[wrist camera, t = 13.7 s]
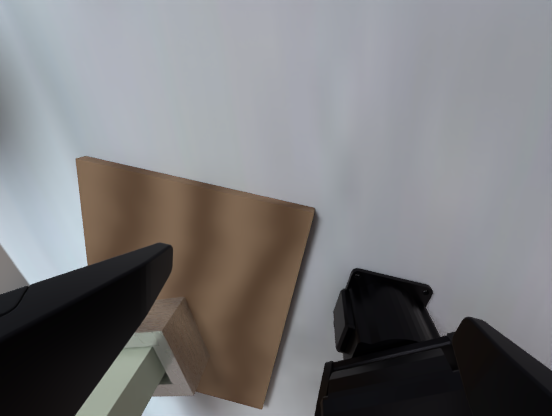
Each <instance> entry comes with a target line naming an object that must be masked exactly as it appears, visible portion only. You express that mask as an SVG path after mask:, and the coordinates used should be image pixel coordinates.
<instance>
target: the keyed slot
mask: <svg viewBox="0 0 552 416" xmlns="http://www.w3.org/2000/svg"><path fill="white" fill-rule="evenodd" d="M148 346H153V348H154V350H155V352H156V354H157V356H158V357H159V359H160V361H161V363H162V365H163V367H164V369H165V371H166V372H165V373H164V375H163V377H162V379H161V381H160V382H159V384H158V386H157V388H156V390H155V391H154V393H153V395H152V396H194V394H195V391H196V389H197V386H198V384H199V382H200V379H201V377H202V374H203V372H204V370H205V367H206V365H207V362H208V360H209V358H210V355H209V352H208V350H207V348H206V346H205V343H204V341H203V339H202V336H201V334H200V332H199V329H198V327H197V325H196V322H195V320H194V318H193V315H192V313H191V311H190V309H189V306H188V304H187V302H186V299H185V297H178V298H169V299H160V300H156V301H155V302H154V304H153V306H152V308H151V309H150V311H149V313H148V314H147V316H146V317H145V319H144V320H143V322H142V323H141V325H140V326H139V328H138V329H137V330H136V332H135V333H134V334H133V336H132V337H131V339H130V340H129V341H128V343H127V344H126V346H125V347H124V348H132V347H148Z"/></svg>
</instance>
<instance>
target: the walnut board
mask: <svg viewBox="0 0 552 416" xmlns="http://www.w3.org/2000/svg"><path fill="white" fill-rule="evenodd" d="M76 166H77V175H78V184H79V193H80V201H81V210H82V219H83V228H84V237H85V246H86V255H87V263H88V266H89V265H92V264H95V263H98V262H101V261H104V260H107V259H110V258H113V257H116V256H119V255H122V254H125V253H128V252H131V251H134V250H137V249H140V248H143V247H146V246H149V245H152V244H156V243H159V242H161V243H165V244H170V245H172V247H173V268H172V272H171V274H170V276H169V278H168V279H167V281H166V283H165V285H164V286H163V288H162V290H161V292H160V294H159V295H158V297H157V299H156V300H160V299H169V298H178V297H185V299H186V302H187V304H188V306H189V309H190V311H191V313H192V315H193V318H194V320H195V322H196V325H197V327H198V329H199V332H200V334H201V336H202V339H203V341H204V343H205V346H206V348H207V350H208V352H209V355H210V358H209V360H208V362H207V365H206V367H205V370H204V372H203V374H202V377H201V379H200V382H199V384H198V386H197V389H196V392H200V393H203V394H207V395H211V396H214V397H218V398H222V399H225V400H229V401H232V402H236V403H240V404H243V405H247V406H251V407H254V408H258V409H262V408H263V404H264V401H265V397H266V393H267V389H268V386H269V382H270V378H271V374H272V370H273V367H274V363H275V359H276V355H277V352H278V348H279V344H280V340H281V337H282V333H283V329H284V325H285V321H286V318H287V314H288V310H289V306H290V303H291V299H292V295H293V291H294V288H295V284H296V280H297V276H298V273H299V269H300V265H301V261H302V257H303V254H304V250H305V246H306V242H307V239H308V235H309V231H310V227H311V224H312V220H313V216H314V208H313V207H308V206H304V205H299V204H295V203H291V202H286V201H282V200H277V199H273V198H269V197H264V196H260V195H255V194H251V193H247V192H242V191H238V190H233V189H229V188H225V187H220V186H216V185H211V184H207V183H202V182H198V181H194V180H189V179H185V178H180V177H176V176H172V175H167V174H163V173H158V172H154V171H150V170H145V169H141V168H136V167H132V166H128V165H123V164H119V163H114V162H110V161H105V160H101V159H97V158H92V157H88V156H84V157H80V158H76Z"/></svg>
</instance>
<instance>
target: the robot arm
mask: <svg viewBox="0 0 552 416" xmlns="http://www.w3.org/2000/svg"><path fill="white" fill-rule="evenodd" d="M172 268H173V247H172V245H170V244H165V243H161V242H159V243H156V244H152V245H149V246H146V247H143V248H140V249H137V250H134V251H131V252H128V253H125V254H122V255H119V256H116V257H113V258H110V259H107V260H104V261H101V262H98V263H95V264H92V265H89V266H86V267H83V268H80V269H77V270H73V271H70V272H67V273H64V274H61V275H58V276H55V277H52V278H49V279H46V280H43V281H40V282H37V283H34V284H31V285H30V286H29V287H28V286H25V287H22V288H19V289H16V290H13V291H10V292H7V293H3V294H0V416H75V415H76V414H77V412H78V411H79V410H80V408H81V407H82V405H83V404H84V403H85V401H86V400H87V399H88V397H89V396H90V394H91V393H92V392H93V390H94V389H95V387H96V386H97V385H98V383H99V382H100V380H101V379H102V378H103V376H104V375H105V373H106V372H107V371H108V369H109V368H110V366H111V365H112V364H113V362H114V361H115V360H116V358H117V357H118V355H119V354H120V353H121V351H122V350H123V348H124V347H125V346H126V344H127V343H128V341H129V340H130V339H131V337H132V336H133V334H134V333H135V332H136V330H137V329H138V328H139V326H140V325H141V323H142V322H143V320H144V319H145V317H146V316H147V314H148V313H149V311H150V309H151V308H152V306H153V304H154V302H155V301H156V299H157V297H158V295H159V294H160V292H161V290H162V288H163V286H164V285H165V283H166V281H167V279H168V278H169V276H170V274H171V272H172ZM356 274H360V275H359V276H356ZM424 290H427V291H426V292H423V291H424ZM432 294H433V291H432V289H431V287H430V286H429V285H426V284H422V283H418V282H414V281H410V280H405V279H401V278H397V277H393V276H389V275H384V274H380V273H376V272H372V271H368V270H363V269H359V268H356V269H353V270H352V272H351V274H350V277H349V280H348V283H347V285H346V288H345V289H342V290H341V291H340V294H339V297H338V300H337V303H336V306H335V308H334V312H333V313H334V328H335V343H336V349H337V351H338V352H341V353H343V358H344V360H341V361H337V362H333V361H330V362H326V363H325V366H324V371H323V376H322V381H321V385H320V390H319V395H318V400H317V404H316V411H315V416H552V371H551V370H550V369H549V368H547V367H546V366H545V365H543V364H542V363H541V362H539V361H538V360H536V359H535V358H534V357H532V356H531V355H530V354H528V353H527V352H526V351H524V350H523V349H521V348H520V347H519V346H517V345H516V344H515V343H513V342H512V341H511V340H509V339H508V338H506V337H505V336H504V335H502V334H501V333H500V332H498V331H497V330H496V329H494V328H493V327H491V326H490V325H489V324H487V323H486V322H485V321H483V320H481V319H477V318H472V317H465V318H464V319H463V320H462V322H461V323H460V325H459V327H458V328H457V330H456V332H452V333H447V336H443V337H440V335H439V333H438V331H437V329H436V327H435V325H434V323H433V321H432V319H431V317H430V315H429V313H428V311H427V309H426V305H427V303H428V302H429V300H430V298H431V296H432Z"/></svg>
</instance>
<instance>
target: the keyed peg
mask: <svg viewBox="0 0 552 416" xmlns="http://www.w3.org/2000/svg"><path fill="white" fill-rule="evenodd" d="M165 372H166V371H165V369H164V367H163V365H162V363H161V361H160V359H159V357H158V356H157V354H156V352H155V350H154V348H153V346H148V347H132V348H123V350H122V351H121V353H120V354H119V355H118V357H117V358H116V360H115V361H114V362H113V364H112V365H111V366H110V368H109V369H108V371H107V372H106V373H105V375H104V376H103V378H102V379H101V380H100V382H99V383H98V385H97V386H96V387H95V389H94V390H93V392H92V393H91V394H90V396H89V397H88V399H87V400H86V401H85V403H84V404H83V405H82V407H81V408H80V410H79V411H78V412H77V414H76V415H75V416H141V415H142V413H143V411H144V409H145V408H146V406H147V404H148V402H149V400H150V399H151V397H152V395H153V393H154V391H155V390H156V388H157V386H158V384H159V382H160V381H161V379H162V377H163V375H164V373H165Z"/></svg>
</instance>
